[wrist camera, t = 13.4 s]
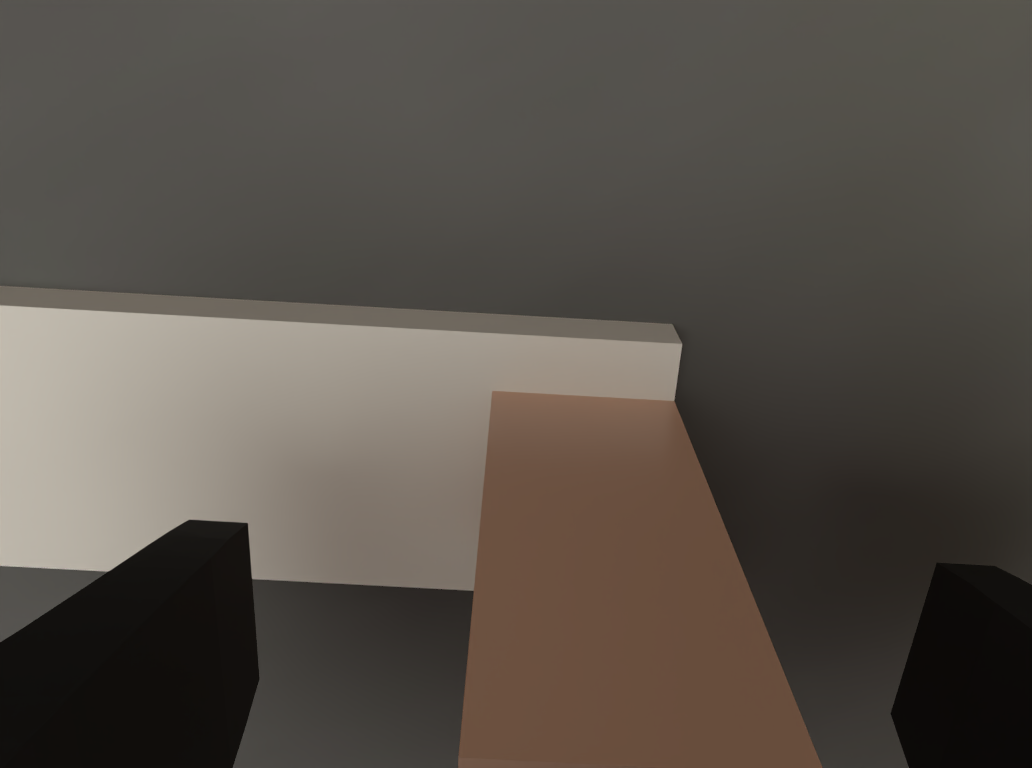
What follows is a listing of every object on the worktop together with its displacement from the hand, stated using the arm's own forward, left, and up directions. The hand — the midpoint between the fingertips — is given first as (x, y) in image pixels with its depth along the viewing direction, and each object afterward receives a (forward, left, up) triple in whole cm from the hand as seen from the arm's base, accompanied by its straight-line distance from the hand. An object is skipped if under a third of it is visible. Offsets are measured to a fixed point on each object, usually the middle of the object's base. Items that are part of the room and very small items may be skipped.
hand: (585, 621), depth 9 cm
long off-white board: (-4, +6, -4) cm, 8 cm away
